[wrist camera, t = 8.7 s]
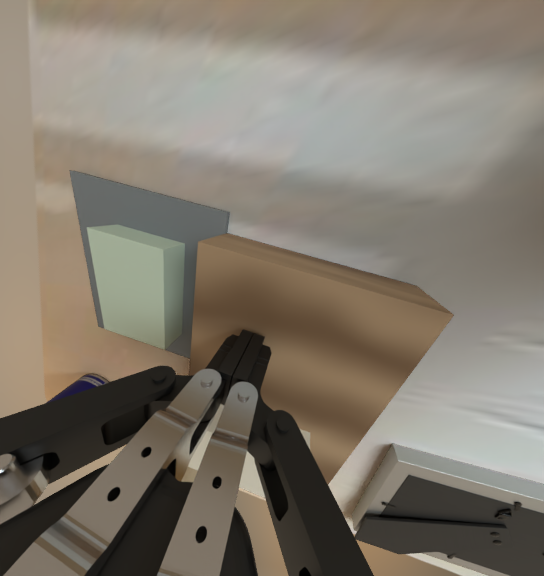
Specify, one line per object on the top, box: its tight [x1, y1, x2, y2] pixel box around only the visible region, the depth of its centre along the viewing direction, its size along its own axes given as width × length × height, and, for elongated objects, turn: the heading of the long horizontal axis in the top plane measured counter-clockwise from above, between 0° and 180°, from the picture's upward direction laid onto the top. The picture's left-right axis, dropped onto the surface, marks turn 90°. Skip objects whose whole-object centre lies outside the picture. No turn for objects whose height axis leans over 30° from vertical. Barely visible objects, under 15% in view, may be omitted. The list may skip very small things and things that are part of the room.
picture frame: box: [352, 444, 544, 576], centre depth 20 cm, size 16×3×21 cm
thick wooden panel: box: [189, 233, 454, 484], centre depth 16 cm, size 20×14×4 cm
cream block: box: [188, 404, 310, 498], centre depth 16 cm, size 9×6×2 cm, turn 77°
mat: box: [70, 170, 230, 358], centre depth 18 cm, size 15×13×1 cm
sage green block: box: [87, 225, 185, 350], centre depth 16 cm, size 9×6×2 cm, turn 168°
